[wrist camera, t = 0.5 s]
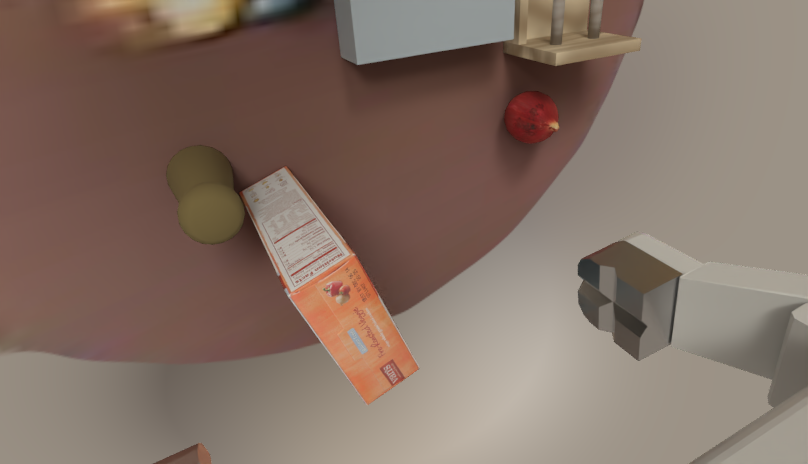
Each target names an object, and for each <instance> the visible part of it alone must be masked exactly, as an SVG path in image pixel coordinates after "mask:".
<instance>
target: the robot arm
mask: <svg viewBox="0 0 808 464" xmlns="http://www.w3.org/2000/svg"><path fill="white" fill-rule="evenodd" d="M578 276H579V277H581V278H582V279H583V282H582V284H581V286H580V288H579V290H578V302H579V305H580V307H581V310H582V312H583V314H584V315H585V317H586V318H587V319H588V320H589V322H590V323H591V324H593V325H594V326H595V327H596V328H597V329H599V330H603V331H607V332H612V334H613V339H614V342H615V343H616V344H617V345H619V346H620V347H621V348H622V349H624V350H625V351H626V352H628V353H629V354H630V355H631V356H633V357H634V358H635V359H636V360H638V361H640V360H642V359H644V358H646V357H647V356H649V355H651V354H653V353H655V352H657V351H659V350H661V349H663V348H664V347H666V346H668V345H670V344H671V347H674V348H677V349H680V350H683V351H686V352H689V353H692V354H695V355H698V356H702V357H705V358H708V359H711V360H714V361H717V362H720V363H723V364H726V365H729V366H732V367H735V368H738V369H741V370H744V371H748V372H750V373H753V374H756V375H760V376H763V377H766V378H769V379H772V383H771V386H770V390H769V394H768V403H769V405H771V406H772V407H774V408H773V409H771V410H770V411H768V412H767V413H765V414H764V415H762V416H761V417H759V418H758V419H756V420H755V421H753V422H751V423H750V424H748V425H747V426H746V427H744V428H742V429H741V430H739V431H738V432H736V433H735V434H733V435H732V436H730V437H729V438H727V439H726V440H724V441H723V442H721V443H720V444H718V445H716V446H715V447H713V448H712V449H710V450H709V451H707V452H706V453H704V454H703V455H701V456H700V457H698V458H697V459H695V460H693V461H692V462H690V463H689V464H808V275H805V274H797V273H790V272H782V271H775V270H767V269H759V268H753V267H746V266H738V265H731V264H724V263H716V262H707V263H705V264H702V263H700V262H699V261H697V260H695V259H693V258H691V257H689V256H687V255H685V254H684V253H682V252H680V251H678V250H676V249H674V248H672V247H670V246H669V245H667V244H665V243H663V242H661V241H659V240H657V239H655V238H654V237H652V236H650V235H648V234H646V233H643V232H635V233H633V234H631V235H629V236H627V237H625V238H623V239H621V240H619V241H618V242H615V243H613V244H611V245H609V246H607V247H605V248H603V249H601V250H599V251H597V252H595V253H592V254H590V255H588V256H586V257H584V258H582V259H581V260H580V262H579V264H578ZM154 464H211V458H210V454H209V453H208V451H207V450H206V448H205V447H204V445H203V444H202V443H198V444H196V445H193V446H191V447H189V448H187V449H185V450H182V451H180V452H178V453H176V454H174V455H171V456H169V457H167V458H165V459H163V460H160V461H158V462H156V463H154Z"/></svg>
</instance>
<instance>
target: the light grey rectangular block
mask: <svg viewBox="0 0 808 464" xmlns="http://www.w3.org/2000/svg"><path fill="white" fill-rule="evenodd" d="M334 5H335V13H336V21H337V29H338V37H339V45H340V53H341V57H342V58H344V59H346V60H348V61H350V62H352V63H354V64H356V65H361V64H367V63H373V62H379V61H385V60H391V59H397V58H403V57H409V56H415V55H421V54H427V53H433V52H439V51H446V50H452V49H458V48H464V47H470V46H476V45H482V44H488V43H494V42H500V41H506V40H512V39H514V15H515V0H334Z"/></svg>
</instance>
